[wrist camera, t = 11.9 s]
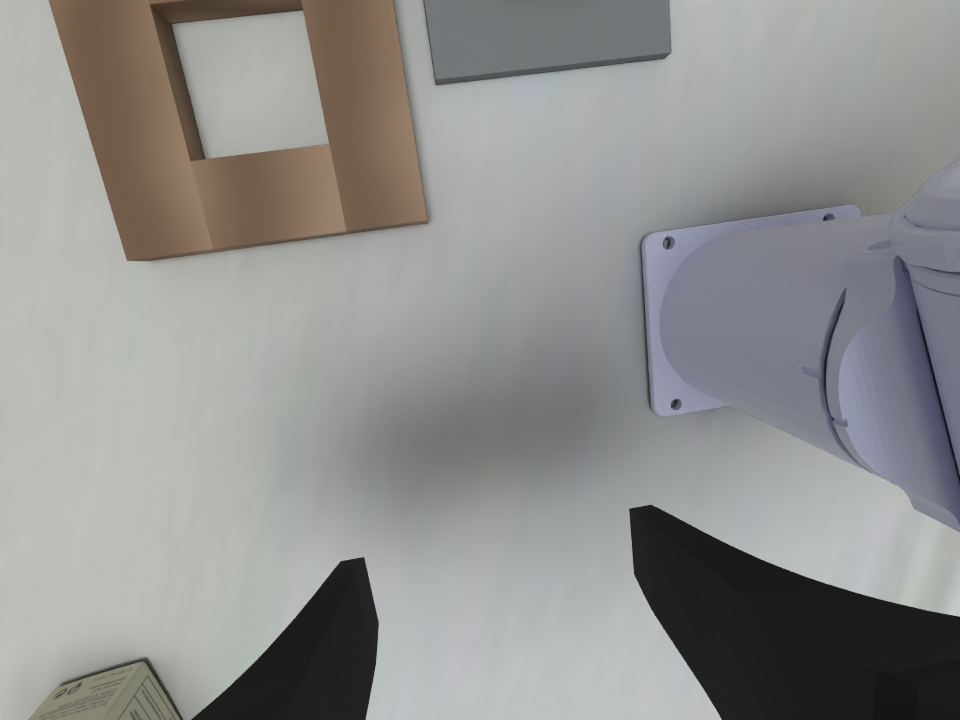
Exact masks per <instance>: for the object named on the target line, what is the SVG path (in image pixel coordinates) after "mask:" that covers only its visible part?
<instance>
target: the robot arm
mask: <svg viewBox="0 0 960 720" xmlns="http://www.w3.org/2000/svg"><path fill="white" fill-rule="evenodd" d="M825 216H826V218H827V221H823V218H824V217H825ZM666 237H667V238H668V239H669V240H670V246H669V247H668V249H665V248H664V247H663V240H664V239H665V238H666ZM642 263H643V280H644V297H645V314H646V331H647V347H648V364H649V381H650V398H651V408H652V410H653V412H654V413H656V414H657V415H659V416H661V417H667V416H673V415H679V414H684V413H690V412H696V411H702V410H708V409H714V408H720V407H726V406H732V407H734V408H736V409H738V410H740V411H742V412H744V413H746V414H749V415H751V416H753V417H755V418H757V419H759V420H761V421H763V422H765V423H767V424H769V425H772V426H774V427H776V428H778V429H780V430H782V431H784V432H786V433H788V434H790V435H793V436H795V437H797V438H799V439H801V440H803V441H805V442H807V443H809V444H811V445H813V446H816V447H818V448H820V449H822V450H824V451H826V452H828V453H830V454H832V455H834V456H836V457H839V458H841V459H843V460H845V461H847V462H849V463H851V464H853V465H855V466H857V467H860V468H862V469H864V470H866V471H868V472H870V473H873V474H875V475H877V476H879V477H881V478H883V479H885V480H887V481H889V482H891V483H893V484H895V485H897V486H899V487H900V488H901V489H902V490H904V491H905V493H906V494H907V495H908V497H909V498H910V501H911V503H912V505H913V508H914V509H915V510H917V511H919V512H921V513H923V514H925V515H927V516H929V517H931V518H933V519H935V520H937V521H939V522H941V523H943V524H945V525H947V526H949V527H951V528H953V529H955V530H957V531H959V532H960V159H959V160H957V161H955V162H954V163H952V164H950V165H948V166H947V167H945V168H943V169H942V170H940V171H939V172H937V173H936V174H934V175H933V176H932V177H930V178H929V179H928V180H927V181H926V182H925V183H924V184H923V185H922V186H921V187H920V189H919V190H918V191H917V192H916V193H915V194H914V196H913V197H912V198H911V199H910V200H909V201H908V202H906V203H905V204H904V205H902V206H901V207H900V208H899V210H898V211H897V212H896V213H889V214H880V215H872V216H863V217H861V211H860V209H859V207H857V206H856V205H844V206H837V207H830V208H823V209H816V210H809V211H802V212H795V213H788V214H781V215H774V216H766V217H759V218H752V219H745V220H738V221H731V222H724V223H717V224H710V225H703V226H696V227H689V228H682V229H675V230H668V231H661V232H654V233H650V234H648V235H647V236H646V237H644V239H643V241H642ZM675 399H677V404H676V406H675V407H672V408H671V402H672V401H673V400H675ZM629 511H630V524H631V538H632V551H633V565H634V575H635V577H636V579H637V581H638V583H639V585H640V587H641V589H642V591H643V594H644V596H645V597H646V599H647V601H648V603H649V605H650V607H651V609H652V611H653V612H654V614H655V616H656V617H657V619H658V620H659V622H660V623H661V625H662V626H663V628H664V630H665V631H666V633H667V634H668V636H669V637H670V639H671V640H672V642H673V643H674V645H675V646H676V648H677V649H678V651H679V652H680V654H681V655H682V657H683V658H684V660H685V661H686V663H687V665H688V666H689V668H690V669H691V671H692V672H693V674H694V675H695V677H696V678H697V680H698V681H699V683H700V684H701V686H702V687H703V689H704V690H705V692H706V693H707V695H708V697H709V698H710V700H711V702H712V703H713V705H714V707H715V708H716V710H717V712H718V713H719V715H720V717H721V719H722V720H960V617H958V616H953V615H947V614H942V613H936V612H931V611H926V610H922V609H917V608H913V607H909V606H905V605H901V604H896V603H892V602H888V601H884V600H880V599H876V598H873V597H869V596H865V595H861V594H858V593H855V592H851V591H848V590H845V589H841V588H838V587H835V586H832V585H828V584H825V583H822V582H819V581H816V580H813V579H810V578H807V577H805V576H802V575H799V574H797V573H794V572H791V571H789V570H786V569H783V568H781V567H778V566H775V565H773V564H771V563H768V562H766V561H763V560H761V559H759V558H756V557H754V556H752V555H750V554H748V553H745V552H743V551H741V550H739V549H737V548H734V547H732V546H730V545H728V544H726V543H724V542H722V541H720V540H718V539H716V538H714V537H712V536H710V535H708V534H706V533H704V532H702V531H700V530H699V529H697V528H695V527H693V526H691V525H689V524H687V523H685V522H684V521H682V520H680V519H678V518H676V517H674V516H672V515H670V514H669V513H667V512H665V511H663V510H661V509H659V508H657V507H655V506H652V505H648V506H642V507H637V508H631V509H629ZM378 626H379V622H378V618H377V613H376V609H375V604H374V600H373V595H372V591H371V586H370V582H369V577H368V573H367V568H366V564H365V559H364V557H362V558H357V559H351V560H346V561H341V562H340V563H339V564H338V565H337V567H336V568H335V569H334V570H333V572H332V573H331V574H330V575H329V577H328V578H327V579H326V580H325V582H324V583H323V584H322V585H321V587H320V588H319V589H318V590H317V592H316V593H315V594H314V596H313V597H312V598H311V599H310V600H309V602H308V603H307V604H306V605H305V607H304V608H303V609H302V610H301V611H300V613H299V614H298V615H297V616H296V618H295V619H294V620H293V621H292V622H291V623H290V624H289V625H288V627H287V628H286V629H285V630H284V631H283V632H282V633H281V634H280V636H279V637H278V638H277V639H276V640H275V641H274V642H273V643H272V644H271V646H270V647H269V648H268V649H267V650H266V651H265V652H264V653H263V654H262V655H261V656H260V657H259V658H258V659H257V660H256V661H255V662H254V663H253V664H252V665H251V666H250V667H249V668H248V669H247V670H246V671H245V672H244V673H243V674H242V675H241V676H240V677H239V678H238V679H237V680H236V681H235V682H234V683H233V684H232V685H231V686H230V687H229V688H227V689H226V690H225V691H224V692H223V693H222V694H221V695H220V696H219V697H217V698H216V699H215V700H214V701H213V702H211V703H210V704H209V705H208V706H207V707H206V708H204V709H203V710H202V711H201V712H200V713H199V714H197V715H196V716H195V717H194V718H193V719H192V720H365V719H366V714H367V709H368V704H369V698H370V693H371V688H372V682H373V677H374V671H375V666H376V655H377V642H378Z"/></svg>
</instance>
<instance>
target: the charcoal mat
mask: <svg viewBox="0 0 960 720" xmlns="http://www.w3.org/2000/svg"><path fill="white" fill-rule="evenodd" d="M424 7H425V14H426V21H427V28H428V35H429V42H430V49H431V55H432V62H433V69H434V76H435V83H436V85H439V84H448V83H457V82H465V81H474V80H482V79H491V78H500V77H508V76H517V75H525V74H534V73H543V72H551V71H560V70H568V69H577V68H586V67H594V66H603V65H611V64H620V63H628V62H637V61H646V60H654V59H663V58H666V57H667V56H668V55H669V54H670V53H671V30H670V6H669V0H424Z"/></svg>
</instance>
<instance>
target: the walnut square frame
mask: <svg viewBox="0 0 960 720" xmlns="http://www.w3.org/2000/svg"><path fill="white" fill-rule="evenodd" d="M49 3H50V6H51V10H52V13H53V16H54V20H55V23H56V26H57V30H58V33H59V36H60V40H61V43H62V46H63V50H64V53H65V56H66V59H67V63H68V66H69V69H70V73H71V76H72V79H73V83H74V86H75V89H76V93H77V96H78V99H79V103H80V106H81V109H82V113H83V116H84V119H85V122H86V126H87V129H88V132H89V136H90V139H91V142H92V146H93V149H94V152H95V156H96V159H97V162H98V166H99V169H100V172H101V176H102V179H103V182H104V186H105V189H106V192H107V195H108V199H109V202H110V205H111V209H112V212H113V215H114V219H115V222H116V225H117V229H118V232H119V235H120V239H121V242H122V245H123V249H124V252H125V255H126V259H127V261H152V260H160V259H167V258H174V257H182V256H189V255H197V254H204V253H211V252H219V251H226V250H233V249H241V248H248V247H255V246H263V245H270V244H277V243H285V242H292V241H300V240H307V239H314V238H322V237H329V236H336V235H344V234H351V233H358V232H366V231H373V230H380V229H388V228H395V227H402V226H410V225H417V224H425V223H428V221H427V214H426V208H425V202H424V195H423V189H422V183H421V176H420V170H419V164H418V157H417V151H416V144H415V138H414V132H413V125H412V119H411V113H410V106H409V100H408V94H407V87H406V81H405V75H404V68H403V62H402V55H401V49H400V43H399V36H398V30H397V24H396V17H395V11H394V5H393V0H49ZM295 10H303V11H304V16H305V22H306V27H307V32H308V37H309V42H310V47H311V52H312V57H313V63H314V68H315V73H316V78H317V83H318V88H319V93H320V98H321V103H322V109H323V114H324V119H325V124H326V129H327V134H328V139H329V144H326V145H318V146H310V147H301V148H293V149H285V150H277V151H269V152H261V153H253V154H244V155H236V156H228V157H220V158H212V159H205V158H204V154H203V150H202V146H201V142H200V138H199V134H198V130H197V126H196V122H195V118H194V114H193V110H192V106H191V102H190V98H189V94H188V90H187V86H186V82H185V78H184V75H183V71H182V67H181V63H180V59H179V55H178V51H177V47H176V43H175V39H174V35H173V31H172V27H171V23H179V22H188V21H198V20H208V19H217V18H227V17H237V16H246V15H256V14H266V13H275V12H285V11H295Z"/></svg>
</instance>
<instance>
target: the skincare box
mask: <svg viewBox="0 0 960 720" xmlns="http://www.w3.org/2000/svg"><path fill="white" fill-rule="evenodd" d="M28 720H180V718H179V717H178V715H177V713H176V712H175V710H174V708H173V707H172V705H171V703H170V702H169V700H168V698H167V697H166V695H165V693H164V691H163V690H162V689H161V687H160V685H159V683H158V682H157V680H156V679H155V677H154V676H153V674H152V672H151V671H150V669H149V668H148V666H147V665H146V663H145V662H138V663H135V664H131V665H128V666H124V667H121V668H117V669H114V670H110V671H107V672H103V673H100V674H97V675H93V676H90V677H87V678H84V679H81V680H78V681H75V682H72V683H69V684H67V685H64V686H61V687H58V688H56V689H55V690H54V691H53V692H52V693H51V694H50V695H49V696H48V698H47V699H46V700H45V701H44V702H43V703H42V705H41V706H40V707H39V708H38V709H37V710H36V711H35V713H34V714H33V715H32V716H31V717H30V718H29V719H28Z"/></svg>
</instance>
